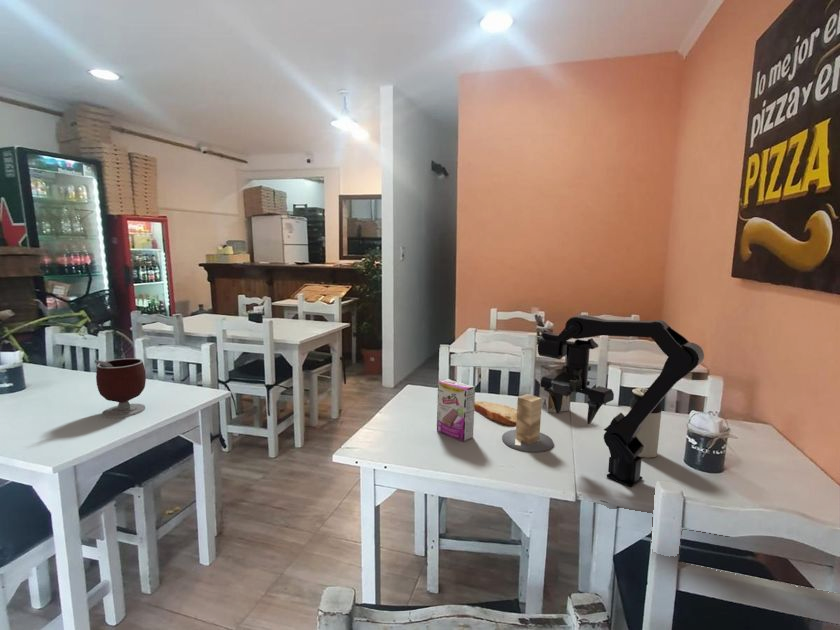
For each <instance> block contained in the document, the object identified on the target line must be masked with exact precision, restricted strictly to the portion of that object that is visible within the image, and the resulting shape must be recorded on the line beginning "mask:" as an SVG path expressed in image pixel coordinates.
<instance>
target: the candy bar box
mask: <svg viewBox="0 0 840 630" xmlns="http://www.w3.org/2000/svg"><path fill="white" fill-rule="evenodd" d="M475 396H476V386H475V385H471V384H468V383H467V384H466V383H463V382H460V381H456V380H453V379H449V378H445V379H441V380H439V381H437V406H436V407H437V409H436V410H437V413H436V415H437V416H436V432H438V433H441V434H444V435H446V436H449V437H452V438H454V439H457V440H458V441H462V442H466V441H468V440H470V439H473V438H474V424H475V423H474V422H475V420H474V419H475V410H474V402H475V400H476V399H475Z"/></svg>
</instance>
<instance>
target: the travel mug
mask: <svg viewBox="0 0 840 630" xmlns="http://www.w3.org/2000/svg"><path fill="white" fill-rule="evenodd" d="M647 390H648V388H644V387H641V388H634V389H632V393H633V397H632V398H631V399H630V401H629V402H630V403H629V411H630V410H631V409H632V408H633V407H634V406H635V404H636V403H637V402H638V401H639V399H640V398H641V397H642V396H643V395H644V393H645V392H646V391H647ZM662 408H663V405H662V403H661V401H660V402H659V404H658V405H657V406H656V407H655V408H654V409H653V411H652V412H651V413H650V414H649V415H648V417H647V418H646V419H645V420H644V421H643V423H642V425H641V427H640V430H639V432H638V434H637V436H636V437H637V438H638V439H639V440H640V442H641V443H642V444H643V445H644V448H643V450H642V452H641V453H640V454H639V455H638V456H639V457H641V458H643V459H644V458H646V459H650V458H655V457H657V456H658V448H659V440H660V428H661V419H662V411H663V409H662Z"/></svg>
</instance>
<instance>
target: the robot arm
mask: <svg viewBox="0 0 840 630" xmlns="http://www.w3.org/2000/svg"><path fill="white" fill-rule="evenodd" d="M601 336H608V337H609V336H611V337H632V338H633V337H634V338H637V337H638V338H651V339H652V340H653V341H654V342H655V343H656V345H657V347H658V348H659V349H660V350H661V351H662V352H663V354H664V355H665V356H667V357H666V358H667V359H666V361H665V363H664V365H663V367H662V370H661V372H660V374H659V375H658V376H657V378H655V379H654V381H653V382H652V383H651V385H650V386H649V387H648V388H647V389H648V390H647V391H646V392H645V393H644V395H643V396H642V397H641V398H640V399H639V401H638V402H637V403H636V404H635V406H634V407H633V408H632V409H631V410H630V409H629V411H628V413H627V414H626V415H624V414H623V413H622V412H620V413H618V414H617V415H615V416H614V417H613V418H612V420H611V421H610V422H609V425H607V426H606V427H605V428H604V429H603V431H604V432H605V433H604V434H603V436H602V437H603V440H604V443H605V446H606V447H608V451H609V454H610V456H609V458H608V468H607V472H608V473H607V474H606V476H607V477H606V478H608V477H609V478H608V479H610V478H612V479H611V480H613V479H614V480H613V481H615V480H617V481H618V483H620V482H621V483H620V484H622V483H623V485H625V484H626V485H625V486H627V485H628V487H630V488H633V487H634V486H635V485H637V484H638V483H640V482H641V481H642V480H643V476H641V469H642V458H643V457H639V456H638V455H639V454H640V453H641V452H642V450H643V448H644V445H643V444H642V443H641V442H640V440H639V439H638V438H637V437H636V436H637V434H638V432H639V430H640V427H641V425H642V423H643V421H644V420H645V419H646V418H647V417H648V415H649V414H650V413H651V412H652V411H653V409H654V408H655V407H656V406H657V405H658V404H659V402H661V401H662V400H663V399H665V397H666V395H668V393H669V392H670V391H671V390H672V388H673V387H674V386H675V385H676V384H677V383H678V382H679V381H680V380H682V379H683V378H685V377H686V375H688V374H690V372H693V370H695V369H696V368H697V367H698V366H699V365H700V364H701V363H703V361H704V359H705V353H704V350H703V348H702V347H701V346H700V345H698V343H695V342H690V341H689V340H688V339H687V338H686V337H685V336H683V335H682V334H681V333H680V332H678V331H676V330H675V329H673V328H672V327H670V326H669V324H668V322H666V321H664V320H661V319H657V320H630V319H629V320H627V319H626V320H623V319H617V320H616V319H603V318H599V317H597V316H592V315H587V314H585V315H584V314H581V315H577V316H573V317H572V316H571V317H570V318H569V319H567V321H566V322H565V327H564V329H563V330H562V331H561V332H560V333H559V334H558V333H557V334H556V333H551V332H549V331H548V332H547V331H545V332H543V333H542V334H541V338H540V340H539V341H538V342H539V343H538V345H537V354H538V355H539V356H540V357H545V358H549V359H554V360H562V359H563V358H565V364H564V365H565V366H563V368H562V372H561V374H559V375H558V376H557V375H554V374H550V375H547V376H543V377H542V378H541V380H540V381H539V388H540V387H543V388H544V390H545V391H547V392H548V393H549V394H550V395H551V398H552V400H553V403H554V407H555V410H556V412H555V413H556V415H560V413H561V412H562V411H561V406H562V399H563V396H569V395H570V396H571V394H572V393H575V394H577V393H579V394H583V395H587V398H588V399H589V400H587V401H586V403H587V405H588V409H587V416H586V417H587V418H586V422H587V425H591V423H592V422H593V421H594V419H595V416H596V415H597V413H598V411H599V410H600V409H601V407H602V406H603V405H605V404H607V403H610V402H612V401H614V399H615V398H614V397H615V392H614V391H613V389H612V388H608V387H603V386H596V387H593V388H592V387H588V386H590V381H589V380H588V379H589V378H588V377H589V371H591V368H592V367H591V366H590V365H589V362H590V353H591V352H590V351H591V350H595V349H597V348H599V344H598V343H597V342H596V341H595V340H594V339H593V338H594V337H601ZM588 338H589V339H588ZM572 339H575V340H574V341H569V340H572ZM585 339H587V340H585ZM617 481H616V482H617ZM632 486H633V487H632Z"/></svg>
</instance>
